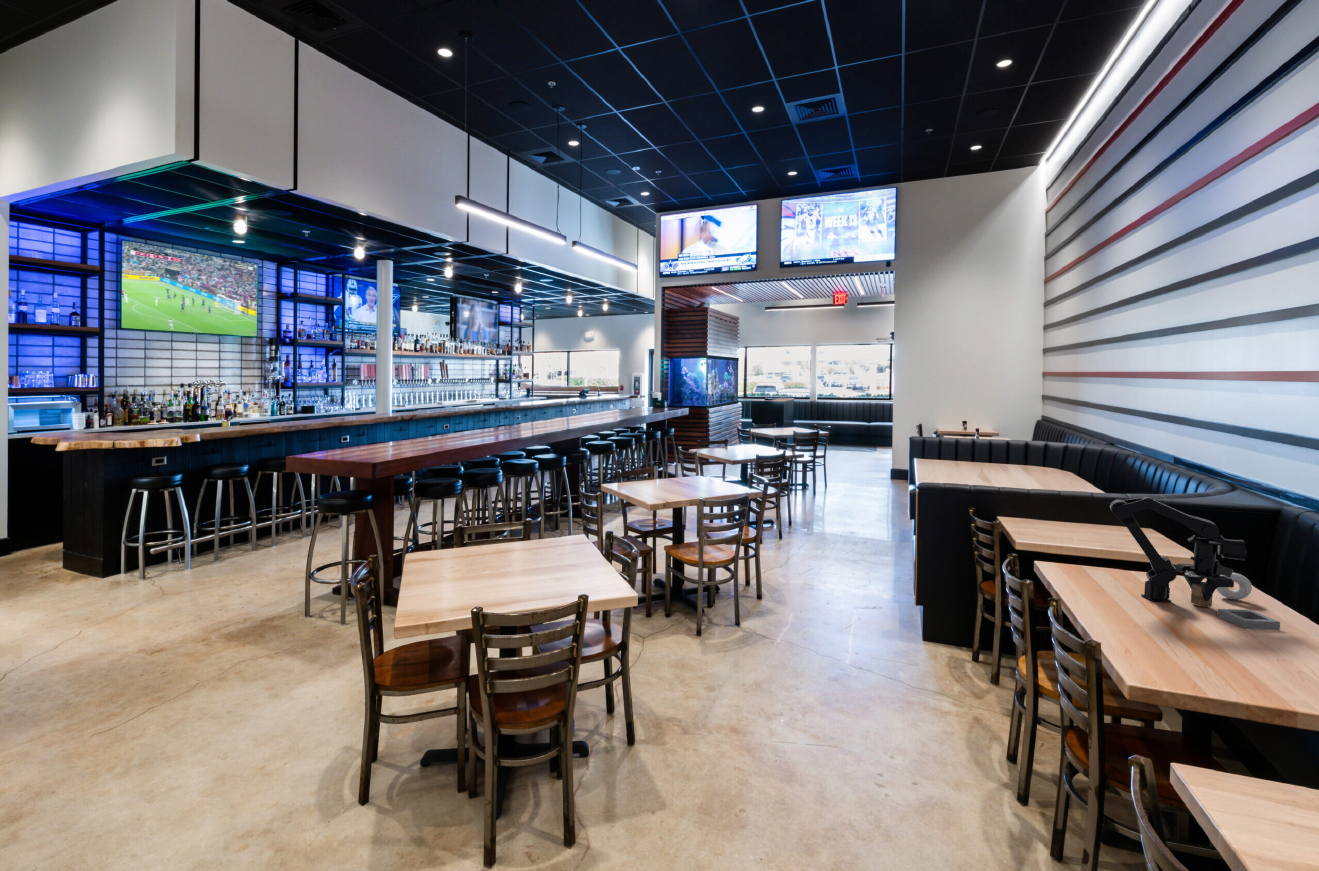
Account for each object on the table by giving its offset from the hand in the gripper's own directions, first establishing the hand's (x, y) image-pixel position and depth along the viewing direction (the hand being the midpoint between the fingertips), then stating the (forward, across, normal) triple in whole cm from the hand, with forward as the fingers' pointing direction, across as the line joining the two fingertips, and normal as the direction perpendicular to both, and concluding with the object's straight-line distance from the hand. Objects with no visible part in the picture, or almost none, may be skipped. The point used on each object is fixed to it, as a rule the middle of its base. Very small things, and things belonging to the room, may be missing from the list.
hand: (1201, 598), depth 215 cm
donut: (+3, +8, -17) cm, 19 cm away
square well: (+3, -15, -3) cm, 16 cm away
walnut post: (+2, 0, 0) cm, 2 cm away
